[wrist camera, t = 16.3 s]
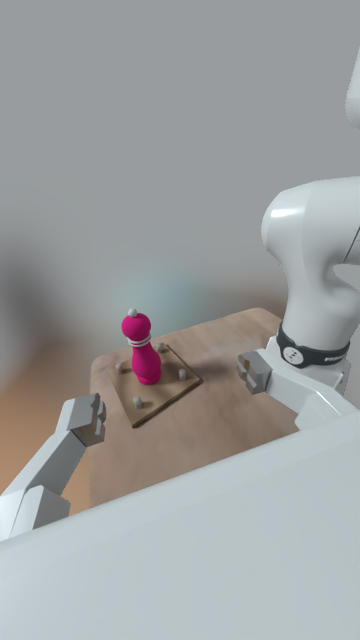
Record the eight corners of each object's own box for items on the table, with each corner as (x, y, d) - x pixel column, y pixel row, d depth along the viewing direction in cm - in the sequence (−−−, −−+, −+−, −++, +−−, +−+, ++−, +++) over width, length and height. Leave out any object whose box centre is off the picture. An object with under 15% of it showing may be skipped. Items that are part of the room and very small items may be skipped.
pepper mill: (130, 376, 47) (106, 311, 36) (152, 360, 51) (137, 297, 40) (146, 392, 42) (125, 324, 31) (169, 374, 46) (157, 307, 35)
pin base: (163, 345, 57) (162, 336, 55) (199, 382, 45) (199, 372, 43) (108, 373, 50) (104, 364, 48) (133, 428, 37) (128, 419, 35)
